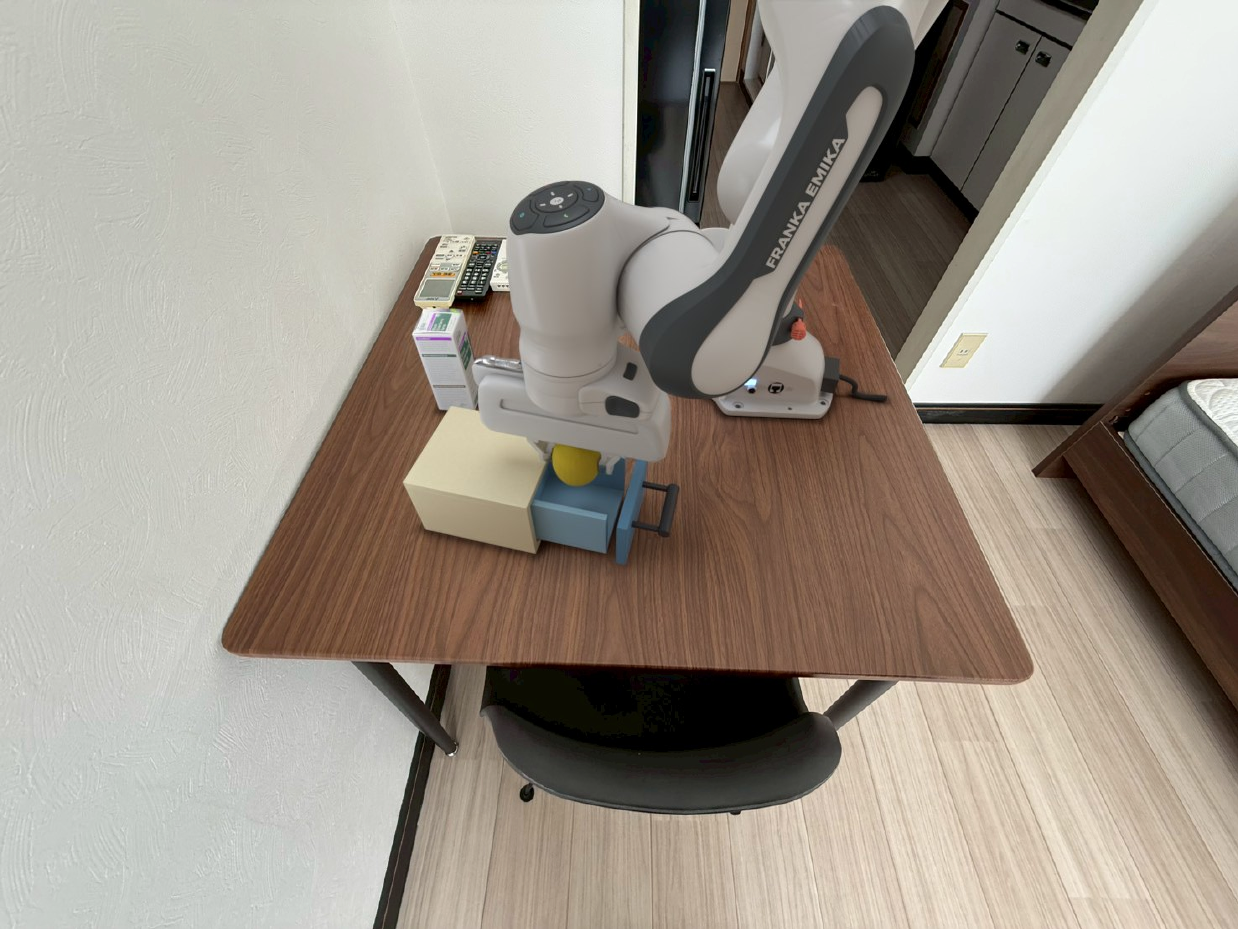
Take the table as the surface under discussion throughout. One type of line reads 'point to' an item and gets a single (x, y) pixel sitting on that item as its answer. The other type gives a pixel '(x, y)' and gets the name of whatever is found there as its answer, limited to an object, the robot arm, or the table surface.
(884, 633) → the table surface
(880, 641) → the table surface
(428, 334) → the syrup box
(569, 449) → the lemon
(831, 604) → the table surface
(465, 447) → the cream drawer cabinet
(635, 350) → the robot arm
